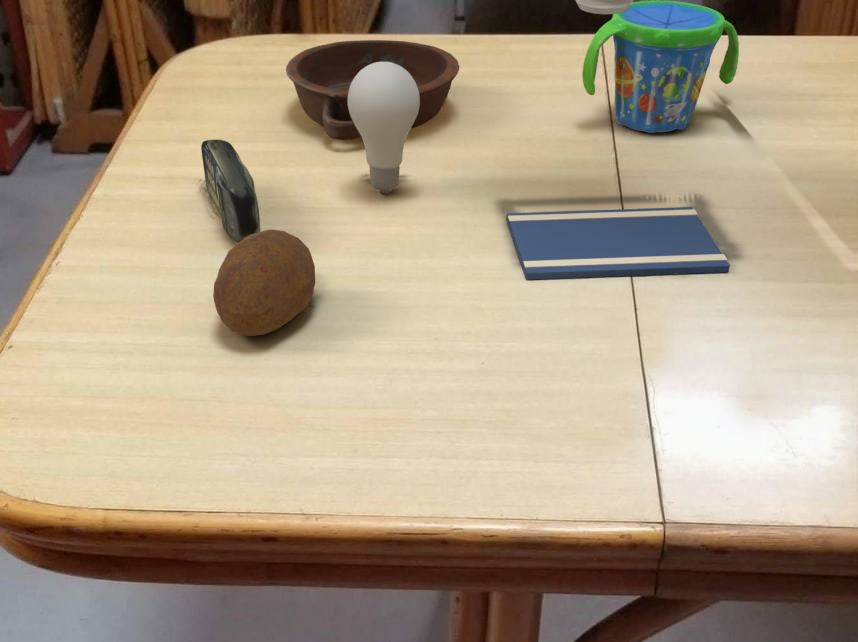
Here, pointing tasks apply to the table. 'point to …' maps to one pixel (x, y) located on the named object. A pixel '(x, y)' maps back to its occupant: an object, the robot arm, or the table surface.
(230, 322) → the potato
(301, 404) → the table surface
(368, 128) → the lightbulb
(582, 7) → the rook chess piece
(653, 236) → the towel
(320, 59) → the dish
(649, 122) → the snack cup
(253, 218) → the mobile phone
